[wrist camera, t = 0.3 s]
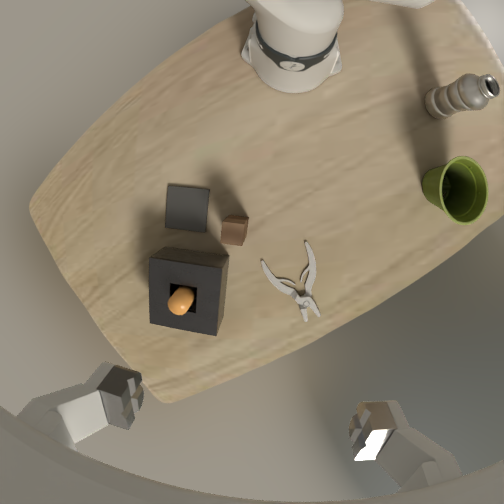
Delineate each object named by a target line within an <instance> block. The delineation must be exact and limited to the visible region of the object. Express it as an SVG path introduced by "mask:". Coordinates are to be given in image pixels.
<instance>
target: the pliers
mask: <svg viewBox="0 0 504 504" xmlns="http://www.w3.org/2000/svg"><path fill="white" fill-rule="evenodd" d="M305 245H306V249H307V253H308V258H309V265H308V267H307V268H306V269H305V270H304V272H303V273H302V276H301V280H300V282H302V278H303V276H304V274H305V273H306V271H308V270H309V275H308V278H307V280H306V283H305V289H306V293H305V294H304V295H302V296H299V294H298V293H297V292H296V290H295V289H293V288H291V287H289V286H286V285H284V284H282V283H281V282H282V281H287V282H290V283H292V284H293V285H295V283H294V282H292V281H290V280H288V279H278V278H276V277H275V276H274V275H273V274H272V273H271V271H270V270H269V268H268V267H267V265H266V264H265V262H264V260H262V261H261V263H262V267H263V270H264V272H265V274H266V276H267V277H268V279H269V280H270V281H271V283H272V284H273V285H274V286H275V287H276V288H277V289H279V290H280V291H282V292H283V293H286V294H289V295H290V296H291V297H293V298H294V299H295V300H296V302H297V303H298V304H299V306H300V310H301V313H302V315H303V318H304V321H305V322H306V321H308V319H307V310H306V307H310V308H311V309H312V310H313V311H314V312H315V314H316V315H317V316H318V317H319V316H321V314H320V312H319V310H318V308H317V306H316V304H315V302H314V300H313V299H312V298H311V296H312V295H311V289H312V285H313V283H314V281H315V277H316V262H315V257H314V254H313V251H312V249H311V247H310V245H309V244H308V242H307V241H306V242H305Z"/></svg>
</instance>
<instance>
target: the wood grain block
mask: <svg viewBox="0 0 504 504" xmlns="http://www.w3.org/2000/svg"><path fill="white" fill-rule="evenodd" d="M248 219H249V217H242V216H234V215H229V216H228V217H227V218H226V219H225V220H224V221H223V222H222V231H221V241H220V243H223V244H230V245H238V246H242V245H243V242H244V240H245V238H246V235H247V227H248Z"/></svg>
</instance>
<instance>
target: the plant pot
mask: <svg viewBox="0 0 504 504" xmlns="http://www.w3.org/2000/svg"><path fill="white" fill-rule="evenodd" d="M443 177H445V180H444V179H443ZM422 186H423V193H424V195H425V197H426V199H427V200H428V201H429V202H431V203H432V204H434V205H436V206H437V207H439V208H440V209H442V210H443V211H444V212H445V213H446V215H447V216H448V217H449V218H450V219H451V220H452V221H453V222H455V223H457V224H460V225H469V224H472V223H474V222H475V221H477V220H478V219H479V218H480V217H481V215H482V214H483V212H484V210H485V208H486V205H487V201H488V183H487V179H486V176H485V173H484V171H483V169H482V168H481V166H480V165H479V164H478V163H477V162H476V161H475V160H473V159H472V158H470V157H467V156H459V157H455V158H453V159H452V160H451V161H449V162H448V163H447V164H446V165H443V166H440V167H437V168H434V169H431V170H429V171H428V172H427V173H426V174H425V176H424V178H423V182H422ZM445 192H446V195H445V196H444V198H443V197H442V196H443V194H444V193H445Z"/></svg>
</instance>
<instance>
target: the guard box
mask: <svg viewBox="0 0 504 504" xmlns="http://www.w3.org/2000/svg"><path fill="white" fill-rule="evenodd" d="M228 265H229V256H227V255H220V254H213V253H206V252H199V251H192V250H185V249H178V248H171V247H164V248H162V249H161V250H160V251H158V252H157V253H155V254H154V255H152V256H151V257H150V258H149V313H150V323H152V324H156V325H161V326H166V327H171V328H176V329H181V330H186V331H191V332H196V333H202V334H208V335H213V336H217V333H218V330H219V327H220V324H221V322H222V319H223V315H224V305H225V294H226V284H227V274H228ZM180 285H185V286H191V287H195V288H196V290H197V295H196V297H195V299H194V301H193V302H192V304H191V305H190V307H189V309H188V310H187V312H186V313H185V314H183V315H176V314H174V313H172V312H171V311H170V309H169V307H168V300H169V298H170V297H171V296H172V295H173V294H174V292H175V291H176V290H177V289H178V287H179V286H180Z"/></svg>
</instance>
